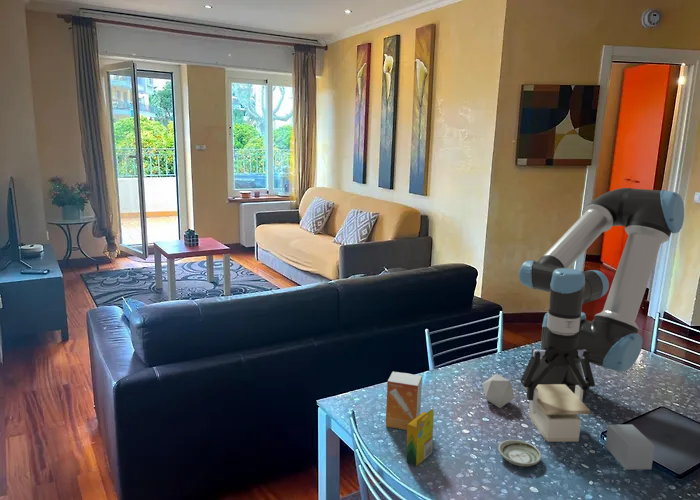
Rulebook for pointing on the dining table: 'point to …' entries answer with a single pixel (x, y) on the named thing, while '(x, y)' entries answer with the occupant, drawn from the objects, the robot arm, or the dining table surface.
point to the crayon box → (420, 438)
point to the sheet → (559, 400)
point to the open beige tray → (556, 425)
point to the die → (498, 390)
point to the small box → (403, 399)
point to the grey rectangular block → (630, 447)
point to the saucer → (519, 452)
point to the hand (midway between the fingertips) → (554, 410)
